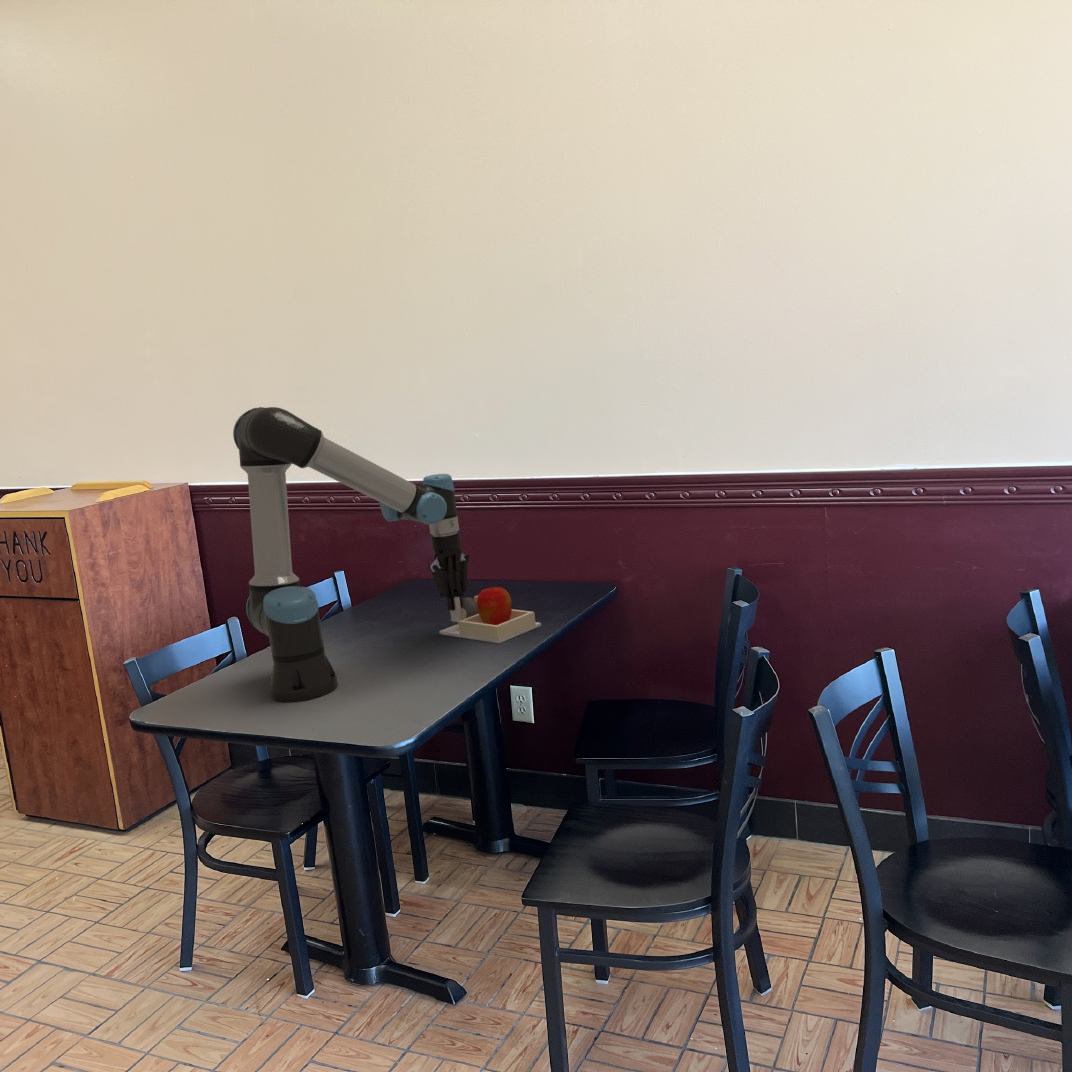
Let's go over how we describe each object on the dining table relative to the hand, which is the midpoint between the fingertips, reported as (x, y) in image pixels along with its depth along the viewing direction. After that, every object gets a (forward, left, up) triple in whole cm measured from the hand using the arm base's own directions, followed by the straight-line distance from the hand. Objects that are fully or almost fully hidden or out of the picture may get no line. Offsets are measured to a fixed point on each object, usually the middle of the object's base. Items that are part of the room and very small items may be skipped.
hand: (457, 620), depth 257 cm
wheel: (+6, 0, -2) cm, 7 cm away
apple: (+4, -10, -3) cm, 12 cm away
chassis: (+5, -7, -3) cm, 9 cm away
